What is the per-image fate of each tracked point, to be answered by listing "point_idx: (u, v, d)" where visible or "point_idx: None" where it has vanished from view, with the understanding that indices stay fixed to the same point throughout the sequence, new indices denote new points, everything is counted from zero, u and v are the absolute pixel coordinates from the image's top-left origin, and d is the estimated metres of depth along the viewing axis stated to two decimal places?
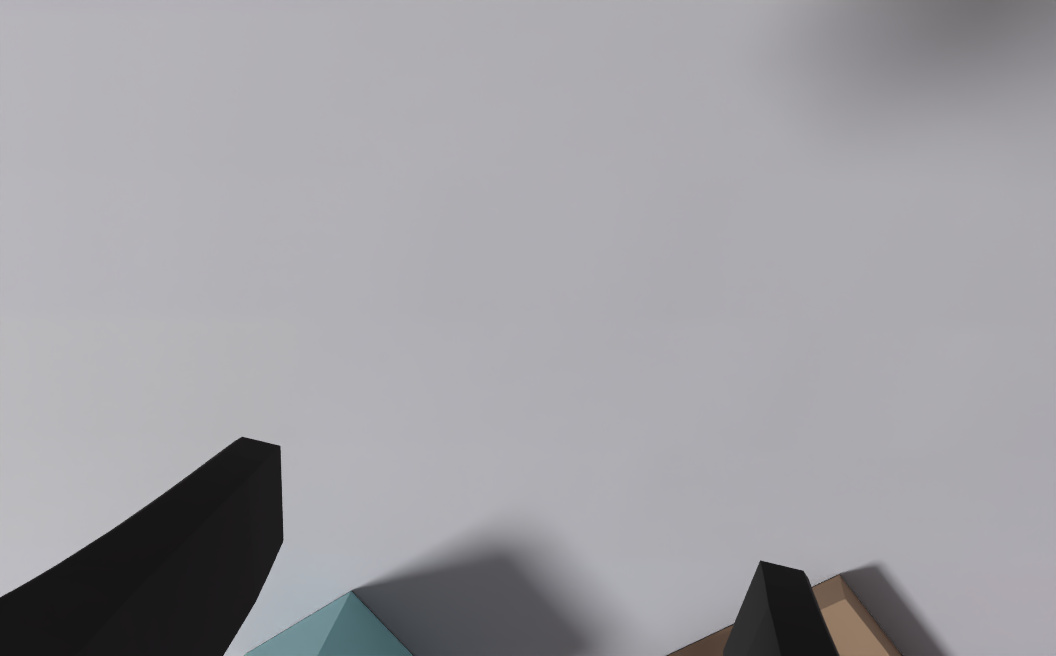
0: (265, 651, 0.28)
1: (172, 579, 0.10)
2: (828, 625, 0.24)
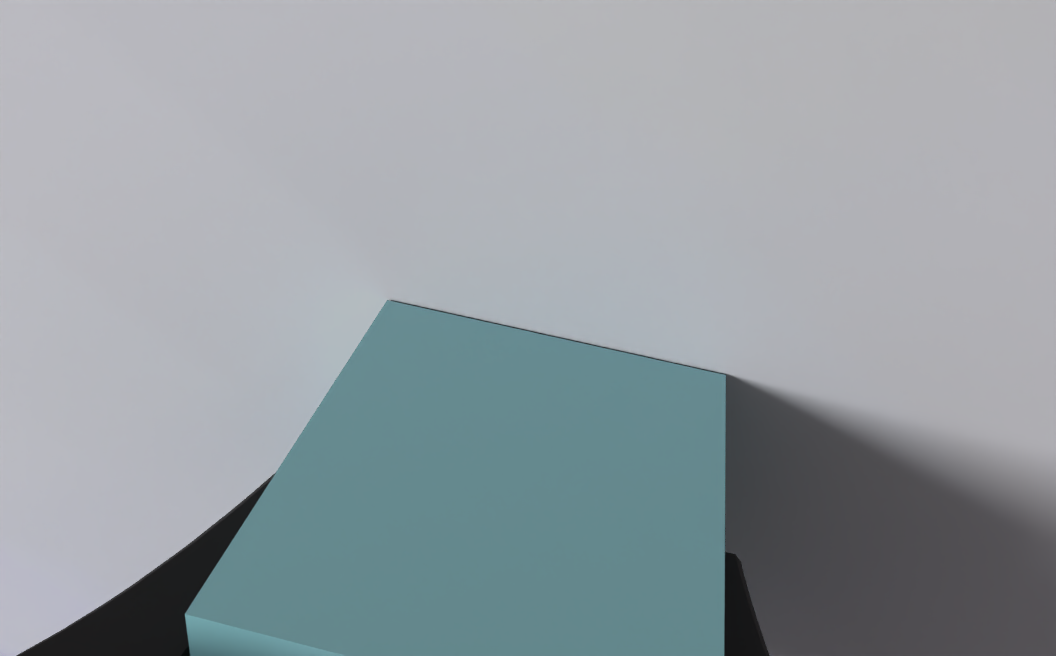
0: (474, 345, 0.13)
1: None
2: None
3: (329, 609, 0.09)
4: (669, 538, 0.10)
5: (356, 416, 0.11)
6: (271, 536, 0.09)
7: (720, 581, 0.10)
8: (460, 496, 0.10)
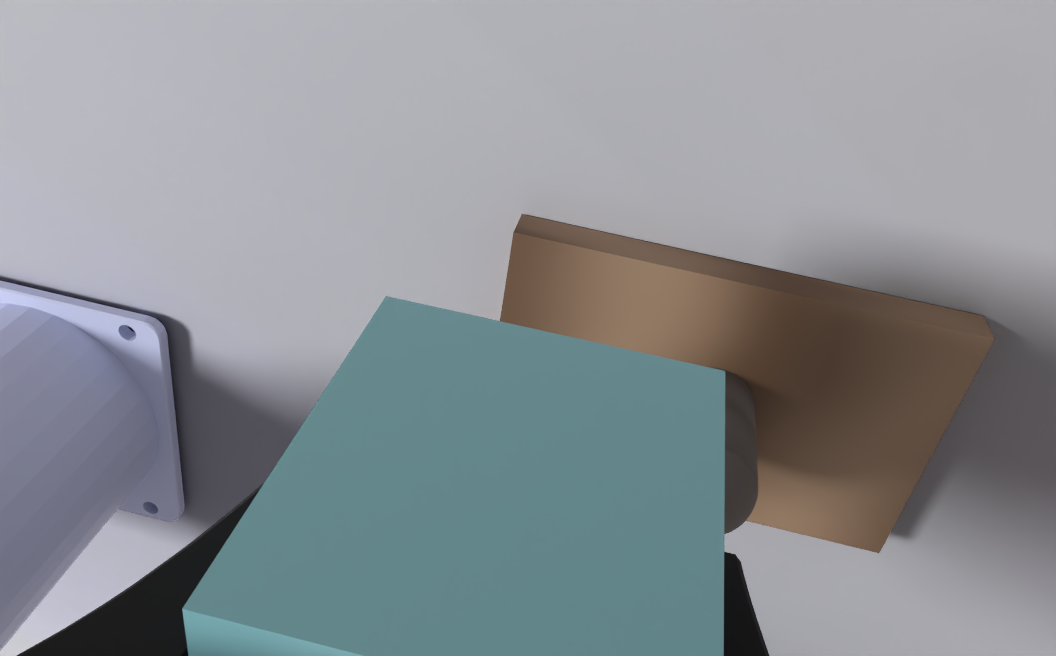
0: (473, 341, 0.13)
1: None
2: (947, 350, 0.20)
3: (327, 604, 0.09)
4: (668, 533, 0.10)
5: (354, 413, 0.11)
6: (269, 531, 0.09)
7: (719, 576, 0.10)
8: (459, 491, 0.10)
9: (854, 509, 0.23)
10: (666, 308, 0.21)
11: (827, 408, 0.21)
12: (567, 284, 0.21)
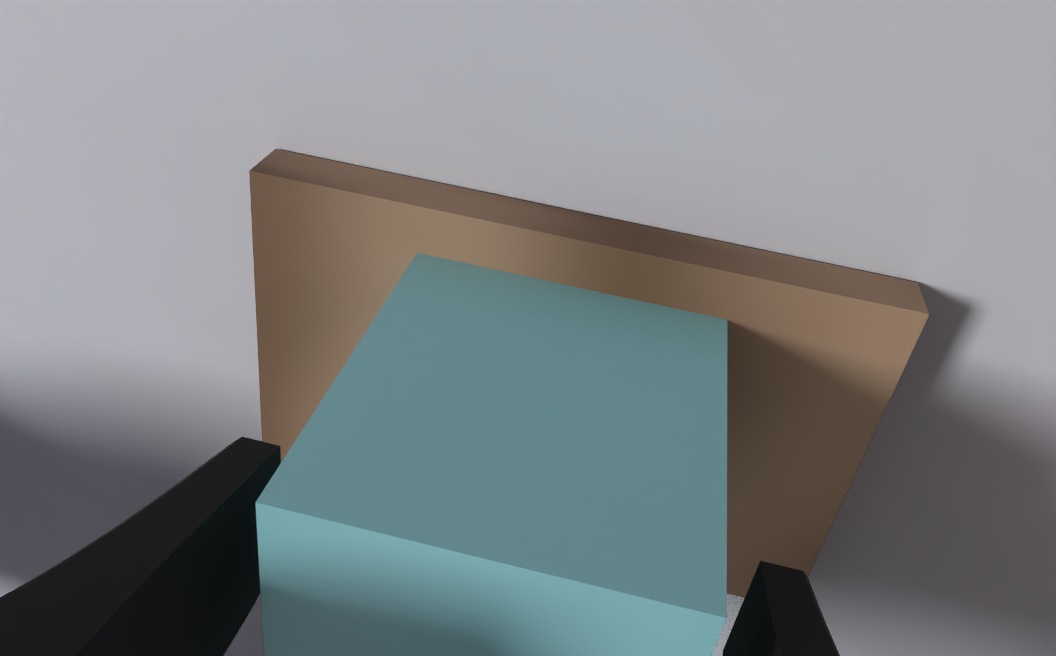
0: (498, 292, 0.14)
1: (172, 579, 0.10)
2: (862, 332, 0.14)
3: (380, 501, 0.10)
4: (677, 451, 0.11)
5: (395, 349, 0.12)
6: (325, 443, 0.11)
7: (722, 486, 0.11)
8: (491, 413, 0.11)
9: (754, 551, 0.17)
10: None
11: None
12: (333, 245, 0.15)
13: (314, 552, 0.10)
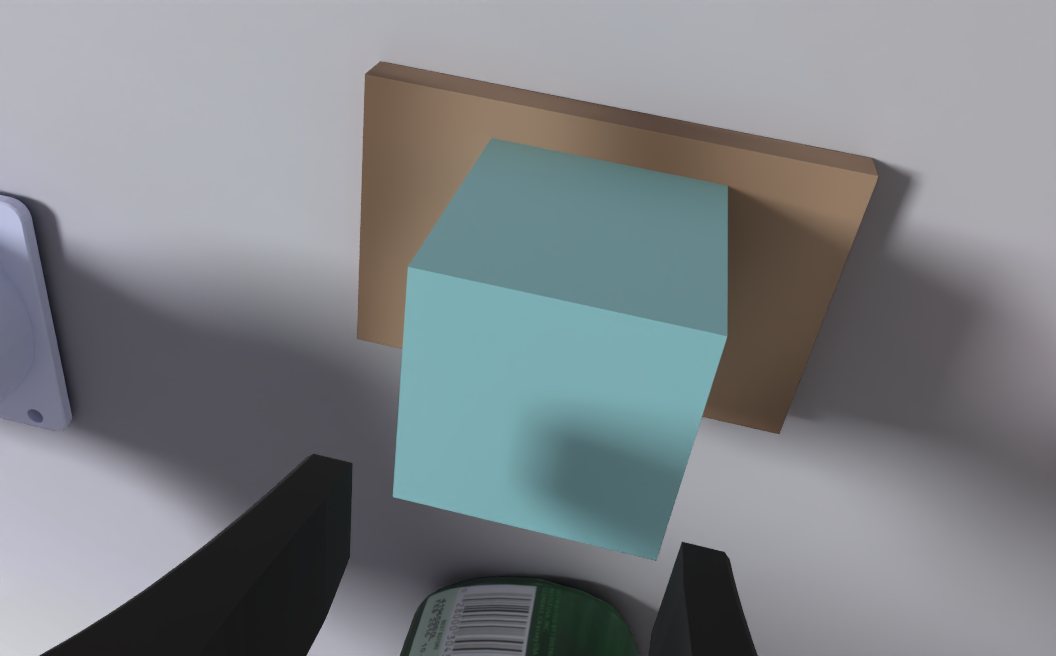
0: (555, 163, 0.18)
1: (259, 601, 0.10)
2: (829, 192, 0.18)
3: (490, 270, 0.14)
4: (692, 255, 0.16)
5: (485, 192, 0.17)
6: (447, 240, 0.15)
7: (725, 274, 0.15)
8: (559, 229, 0.16)
9: (748, 383, 0.21)
10: None
11: None
12: (427, 133, 0.19)
13: (445, 304, 0.14)
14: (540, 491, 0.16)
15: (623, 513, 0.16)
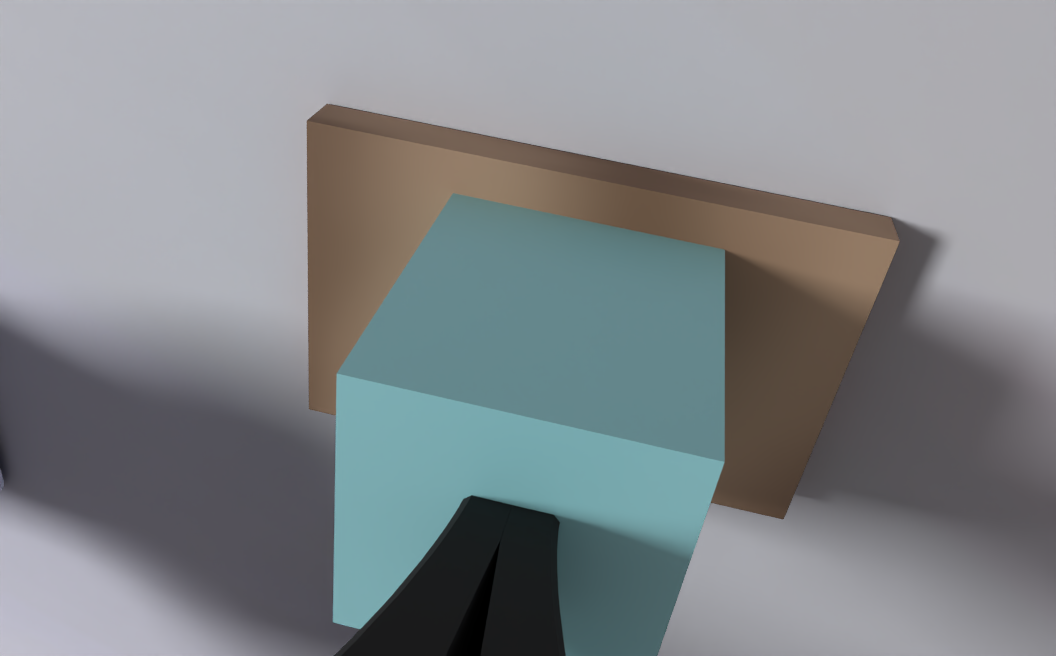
0: (525, 224, 0.16)
1: (454, 651, 0.10)
2: (842, 258, 0.16)
3: (438, 375, 0.12)
4: (682, 345, 0.13)
5: (440, 266, 0.14)
6: (389, 333, 0.13)
7: (721, 371, 0.13)
8: (524, 314, 0.13)
9: (749, 465, 0.19)
10: None
11: None
12: (379, 187, 0.17)
13: (383, 417, 0.12)
14: None
15: (602, 648, 0.14)
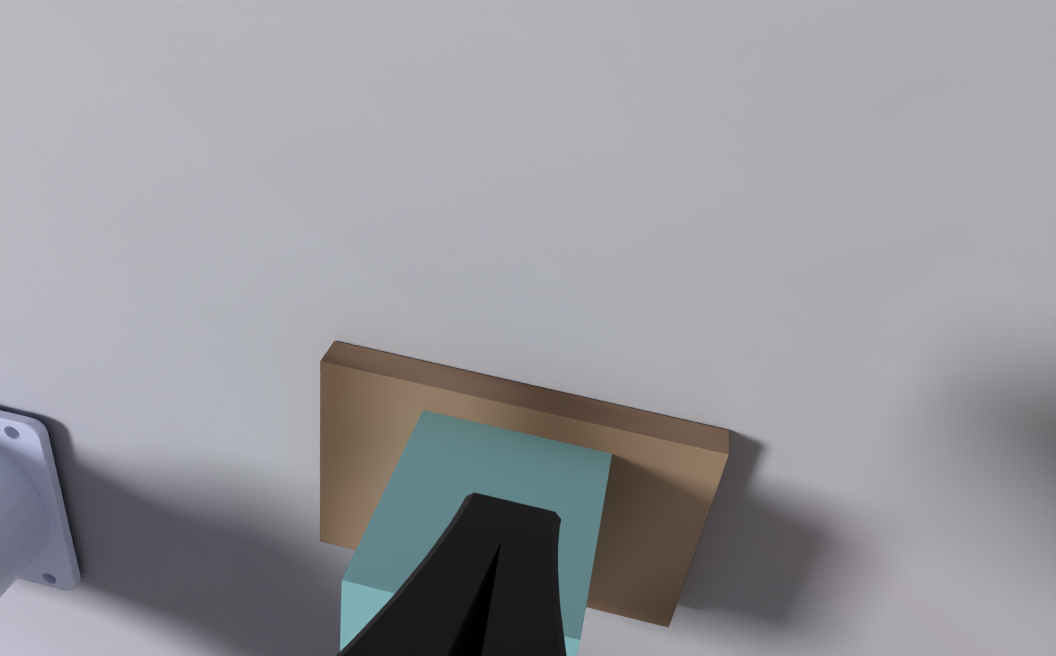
0: (472, 438, 0.23)
1: (456, 651, 0.10)
2: (691, 463, 0.23)
3: (405, 578, 0.19)
4: (568, 545, 0.20)
5: (410, 482, 0.21)
6: (375, 544, 0.20)
7: (590, 566, 0.20)
8: None
9: (641, 590, 0.26)
10: None
11: (603, 507, 0.24)
12: (371, 403, 0.24)
13: (371, 604, 0.19)
14: None
15: None
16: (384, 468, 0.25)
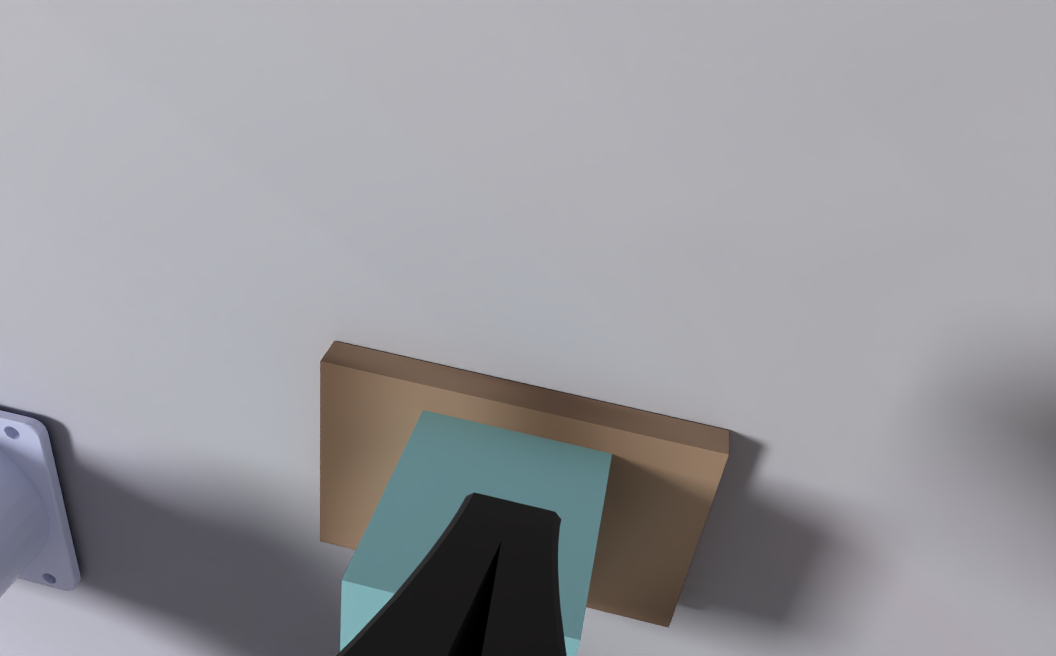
0: (472, 438, 0.23)
1: (456, 652, 0.10)
2: (691, 463, 0.23)
3: (405, 578, 0.19)
4: (568, 545, 0.20)
5: (410, 482, 0.21)
6: (375, 544, 0.20)
7: (590, 566, 0.20)
8: None
9: (641, 590, 0.26)
10: None
11: (603, 507, 0.24)
12: (371, 403, 0.24)
13: (371, 604, 0.19)
14: None
15: None
16: (384, 468, 0.25)
